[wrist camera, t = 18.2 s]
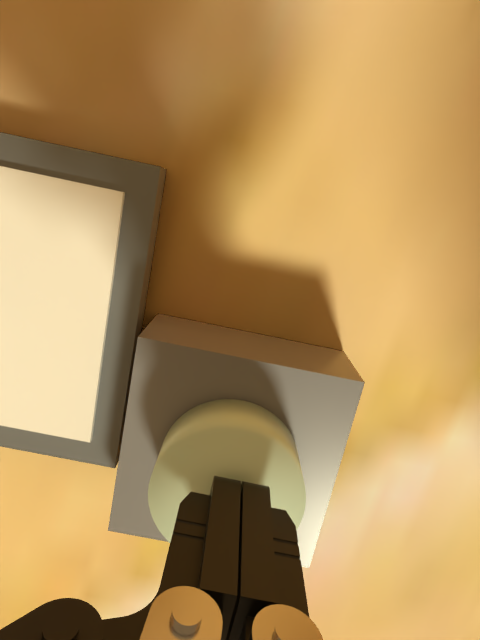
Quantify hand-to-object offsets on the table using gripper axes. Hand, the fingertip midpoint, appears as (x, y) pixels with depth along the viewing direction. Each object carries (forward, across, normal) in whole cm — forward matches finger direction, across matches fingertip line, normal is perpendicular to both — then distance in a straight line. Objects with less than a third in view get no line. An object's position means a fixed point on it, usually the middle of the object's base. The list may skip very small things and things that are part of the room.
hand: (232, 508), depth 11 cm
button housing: (+5, 0, 0) cm, 5 cm away
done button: (+4, 0, 0) cm, 4 cm away
